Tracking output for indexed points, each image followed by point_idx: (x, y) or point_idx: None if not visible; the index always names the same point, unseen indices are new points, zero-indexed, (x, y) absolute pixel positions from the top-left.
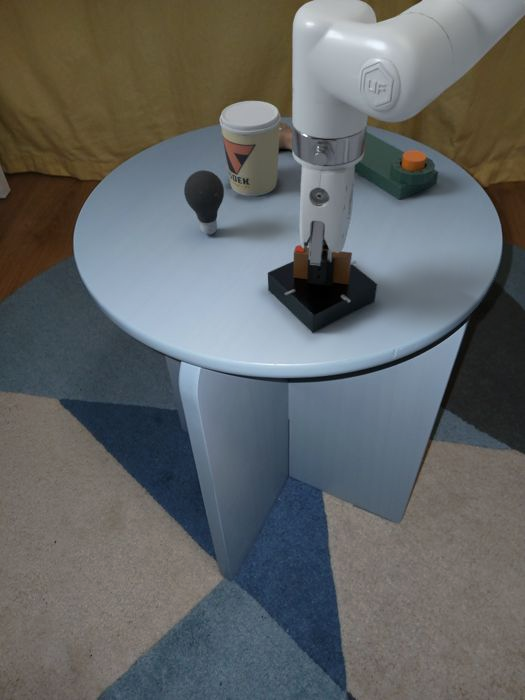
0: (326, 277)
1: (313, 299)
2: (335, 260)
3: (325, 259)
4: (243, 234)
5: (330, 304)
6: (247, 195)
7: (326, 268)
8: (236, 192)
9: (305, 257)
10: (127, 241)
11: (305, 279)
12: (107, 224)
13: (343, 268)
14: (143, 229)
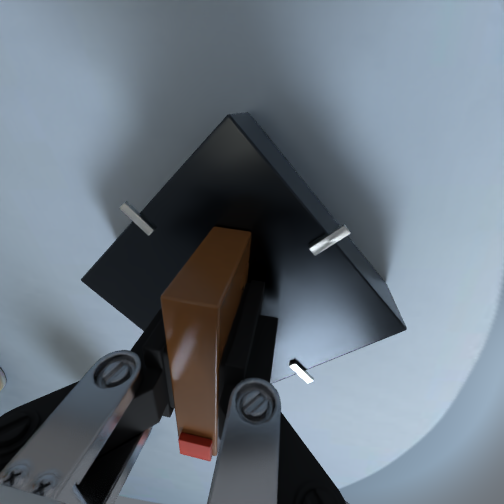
0: (259, 317)
1: (329, 325)
2: (222, 346)
3: (335, 495)
4: None
5: (357, 285)
6: (2, 373)
7: (265, 363)
8: (5, 383)
9: None
10: (173, 479)
11: None
12: (149, 489)
13: (235, 292)
14: (144, 467)
